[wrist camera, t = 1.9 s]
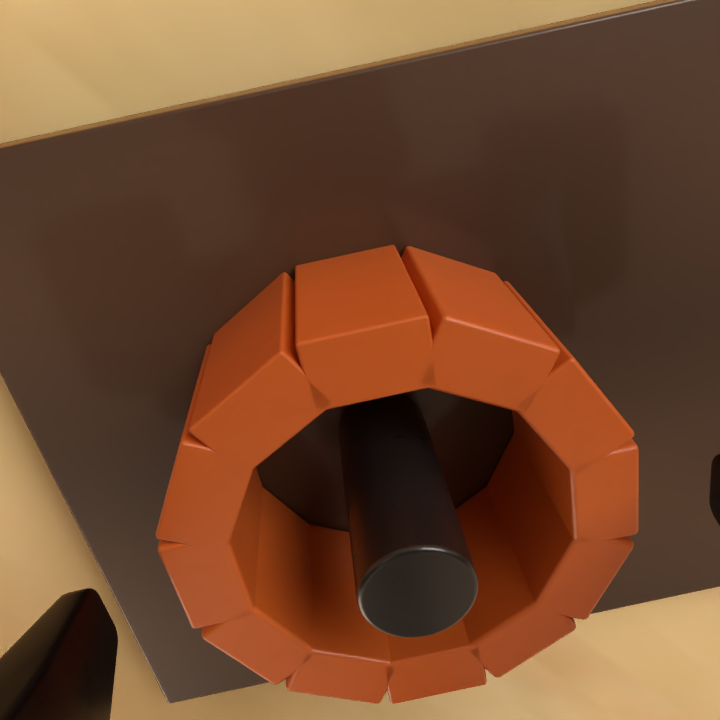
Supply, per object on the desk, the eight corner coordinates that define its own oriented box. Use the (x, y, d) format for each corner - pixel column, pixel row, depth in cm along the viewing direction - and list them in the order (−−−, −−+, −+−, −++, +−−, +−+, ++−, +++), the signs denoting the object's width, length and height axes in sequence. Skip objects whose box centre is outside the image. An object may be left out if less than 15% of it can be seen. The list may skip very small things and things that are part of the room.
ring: (571, 530, 14) (640, 653, 11) (249, 599, 14) (238, 738, 11) (552, 208, 10) (642, 268, 8) (136, 298, 10) (83, 389, 8)
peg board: (1082, 473, 16) (1400, 650, 11) (174, 666, 16) (127, 919, 11) (1322, -145, 10) (2139, -288, 6) (-70, 158, 10) (-352, 255, 6)
